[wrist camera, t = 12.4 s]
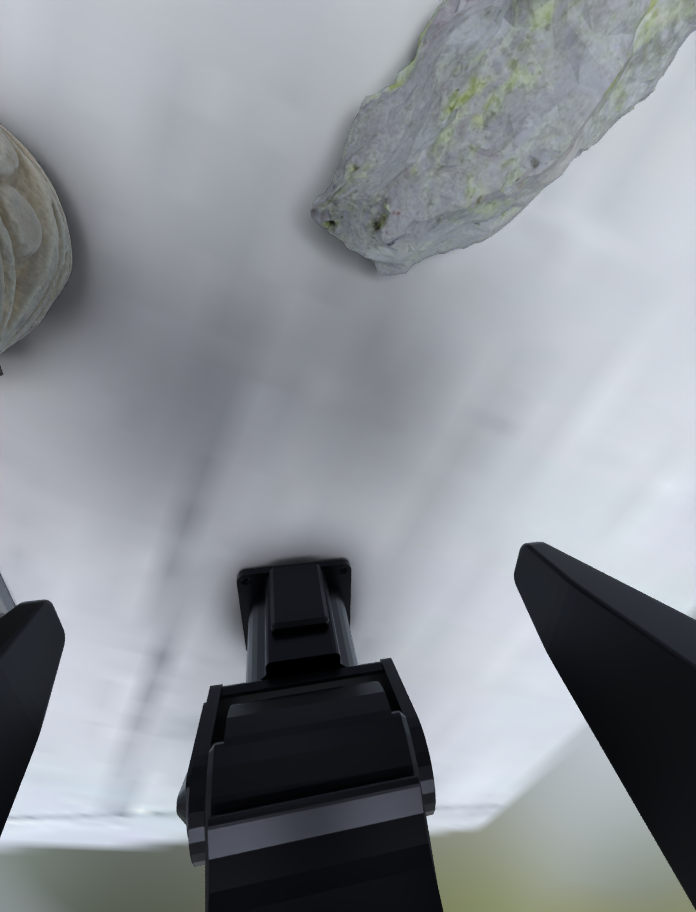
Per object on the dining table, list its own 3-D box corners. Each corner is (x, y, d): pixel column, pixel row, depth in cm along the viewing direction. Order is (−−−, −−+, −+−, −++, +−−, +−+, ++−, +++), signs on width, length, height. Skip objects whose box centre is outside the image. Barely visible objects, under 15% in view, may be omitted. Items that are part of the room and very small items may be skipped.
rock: (403, 329, 20) (464, 370, 14) (285, 200, 16) (297, 181, 11) (698, 22, 16) (945, -97, 10) (619, -215, 13) (910, -580, 7)
